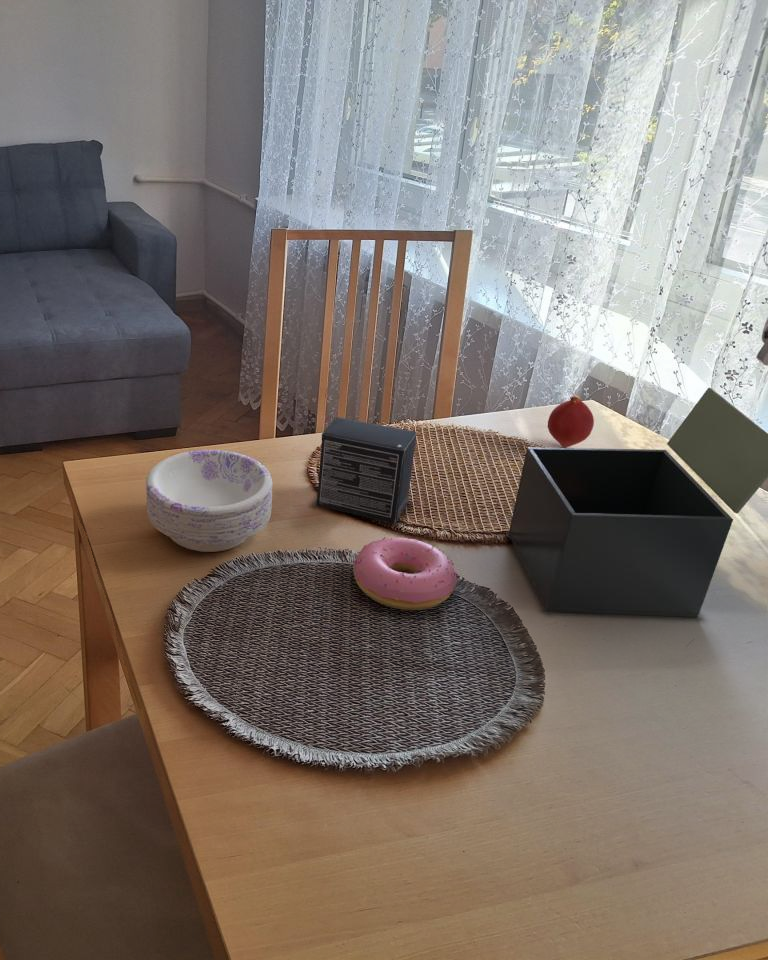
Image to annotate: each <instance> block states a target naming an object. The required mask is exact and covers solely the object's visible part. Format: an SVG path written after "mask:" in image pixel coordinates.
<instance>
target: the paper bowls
mask: <svg viewBox="0 0 768 960" xmlns="http://www.w3.org/2000/svg"><path fill="white" fill-rule="evenodd" d="M272 479H273V478H272V474H271V473H270V471H269V470H268V469H267V467H266V466H265V465H264V464H263V463H261V462H260V461H258V460H256V459H254V458H253V457H250V456H248V455H245V454H242V453H238V452H234V451H230V450H229V451H228V450H221V449H196V450H190V451H185V452H180V453H177V454H174V455H171V456H169V457H166V458H164V459H162V460H160V461H159V462H158V463H157V464H154V466H153V467H151V469H150V470H149V471H148V474H147V476H146V479H145V491H146V514H147V517H148V520H149V522H150V523H151V525H152V526H153V527H154V528H155V529H156V530H157V531H159V532H160V533H161V534H163V535H165V536H166V537H169V538H170V539H171V540H172V541H173V542H174V543H176V544H177V545H179V546H180V547H183V548H184V549H187V550H191V551H195V552H203V553H211V552H212V553H215V552H216V553H217V552H223V551H226V550H230V549H233V548H235V547H237V546H239V545H241V544H243V543H244V542H245V541H246V540H247V539H248V538H251V537H252V536H254V535H256V534H258V533H259V532H261V531H262V530H263V529H265V527H266V526H267V525H268V523H269V521H270V519H271V514H272V503H273V502H272V501H273V480H272Z"/></svg>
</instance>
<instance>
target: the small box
mask: <svg viewBox="0 0 768 960" xmlns="http://www.w3.org/2000/svg"><path fill="white" fill-rule="evenodd" d="M417 437H418V432H417V431H414V430H409V429H404V428H399V427H392V426H386V425H382V424H376V423H371V422H366V421H360V420H354V419H350V418H344V417H340V416H339V417H336V418H335V419H333V421H332V422H331V423H330V424H329V425H328V427H326V429H324V430H323V432H322V433H321V444H320V445H321V447H320V449H321V450H320V458H319V459H320V460H319V470H318V482H317V493H316V494H317V495H316V501H315V506H316V507H320V508H324V509H329V510H333V511H337V512H341V513H345V514H349V515H354V516H358V517H363V518H367V519H372V520H374V521H379V522H383V523H387V524H391V525H396V524H397V523H398V521H399V519H400V518H401V516H402V513H403V512H404V511H405V509H406V507H407V505H408V501H409V493H410V487H411V479H412V471H413V465H414V458H415V452H416V444H417Z"/></svg>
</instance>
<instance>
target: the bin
mask: <svg viewBox="0 0 768 960" xmlns="http://www.w3.org/2000/svg"><path fill="white" fill-rule="evenodd" d="M733 521H734V518H733V517H731V515H730V514H729V513H728V512H727V511H726V510H725V509H724V508H723V507H722V506H721V505H720V504H719V503H718V502H717V501H716V500H715V499H714V498H713V496H711V495H710V494H709V493H708V491H706V489H705V488H703V487H702V485H701V484H700V483H699V482H698V481H697V480H696V479H695V478H694V477H693V476H692V475H691V474H690V473H689V472H688V471H687V470H686V469H685V468H684V467H683V466H682V465H681V464H680V463H679V462H678V461H677V460H676V458H674V456H673V455H672V454H671V453H669V451H668V450H666V449H651V448H650V449H649V448H648V449H647V448H646V449H642V448H640V449H639V448H638V449H637V448H635V449H634V448H594V447H593V448H589V447H587V448H586V447H585V448H584V447H536V446H535V447H532V446H530V447H529V446H528V447H526V451H525V457H524V460H523V465H522V469H521V475H520V479H519V483H518V489H517V492H516V497H515V501H514V506H513V511H512V516H511V521H510V525H509V529H508V534H507V535H508V538H509V540H510V542H511V543H512V545H513V547H514V550H515V551H516V553H517V555H518V557H519V559H520V561H521V564H522V565H523V566H524V569H525V571H526V572H527V574H528V577H529V578H530V580H531V582H532V584H533V586H534V588H535V590H536V592H537V593H538V595H539V597H540V599H541V602H542V604H543V605H544V607H545V609H546V611H547V612H551V613H552V612H553V613H575V614H576V613H579V614H603V615H604V614H605V615H629V616H631V615H632V616H657V617H658V616H659V617H680V618H681V617H682V618H683V617H684V618H685V617H686V618H698V617H699V615H700V612H701V611H702V607H703V604H704V601H705V599H706V596H707V593H708V591H709V589H710V588H709V587H710V585H711V582H712V579H713V576H714V574H715V571H716V568H717V565H718V562H719V560H720V558H721V555H722V552H723V550H724V547H725V544H726V541H727V538H728V535H729V533H730V531H731V527H732V524H733Z"/></svg>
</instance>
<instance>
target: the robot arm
mask: <svg viewBox="0 0 768 960" xmlns="http://www.w3.org/2000/svg"><path fill="white" fill-rule="evenodd" d="M761 342H762V343H763V345H762V347H760V350H759V351H758V352H757V354H756V358H755V359H756V360H757V361H758V362H759V363H761V364H763V365H765V366H766V367H768V316H766V319H765V323H764V326H763V329H762V334H761Z"/></svg>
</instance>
